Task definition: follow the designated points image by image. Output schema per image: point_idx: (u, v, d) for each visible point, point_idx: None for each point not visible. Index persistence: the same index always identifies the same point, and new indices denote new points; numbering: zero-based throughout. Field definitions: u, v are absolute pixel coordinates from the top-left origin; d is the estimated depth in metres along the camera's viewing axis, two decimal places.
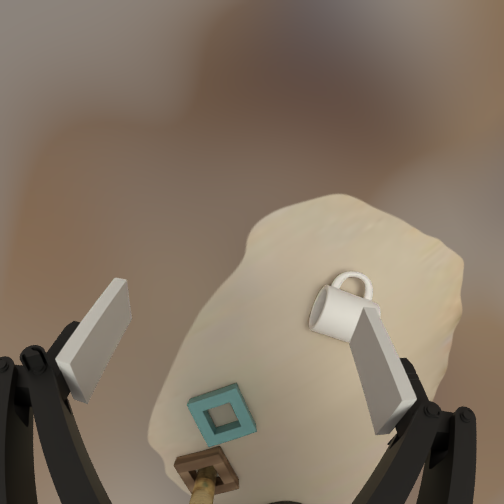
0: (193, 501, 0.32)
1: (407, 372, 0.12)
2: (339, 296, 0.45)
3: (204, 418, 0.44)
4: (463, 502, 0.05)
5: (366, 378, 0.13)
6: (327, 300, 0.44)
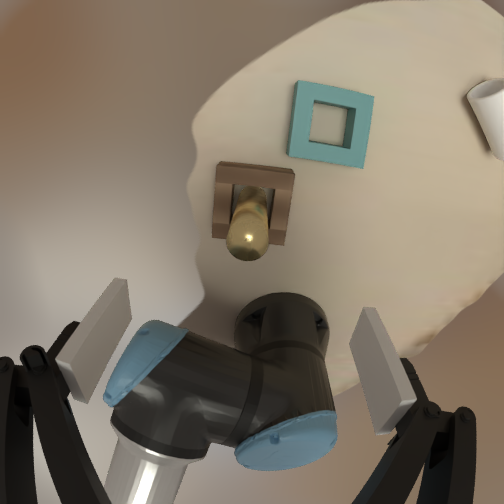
0: (246, 221, 0.25)
1: (407, 372, 0.12)
2: None
3: (310, 110, 0.30)
4: (463, 502, 0.05)
5: (366, 378, 0.13)
6: None
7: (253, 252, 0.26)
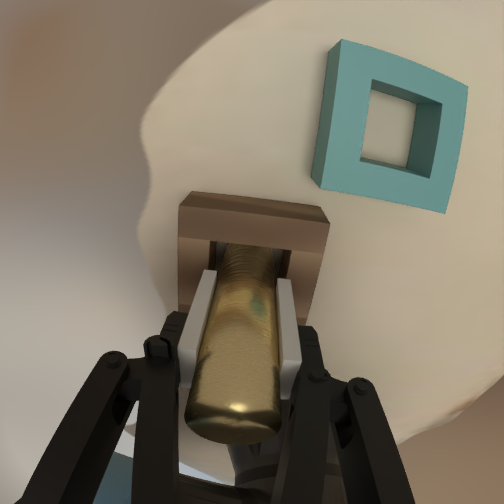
0: (228, 388, 0.09)
1: (308, 339, 0.13)
2: None
3: (365, 100, 0.14)
4: (395, 478, 0.06)
5: None
6: None
7: (246, 436, 0.10)
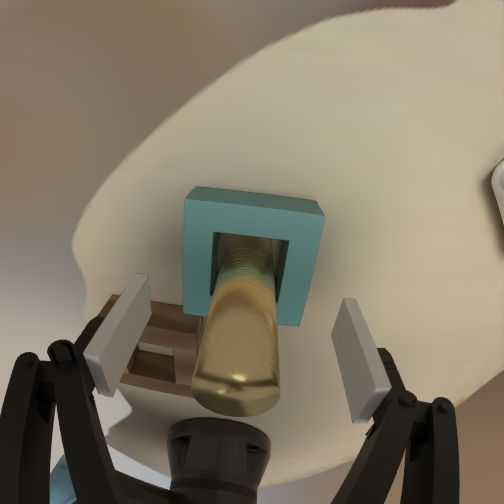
0: (231, 357, 0.11)
1: (385, 362, 0.12)
2: None
3: (208, 250, 0.20)
4: (449, 494, 0.05)
5: (345, 368, 0.14)
6: None
7: (247, 407, 0.11)
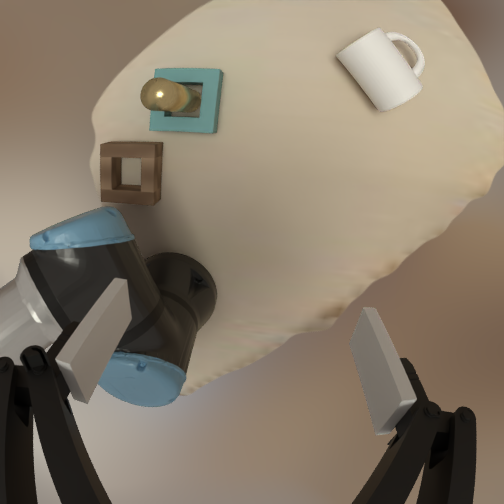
0: (157, 78, 0.25)
1: (407, 372, 0.12)
2: (387, 39, 0.27)
3: None
4: (463, 502, 0.05)
5: (366, 378, 0.13)
6: (373, 31, 0.26)
7: (161, 102, 0.26)
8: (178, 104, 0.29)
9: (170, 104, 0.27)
